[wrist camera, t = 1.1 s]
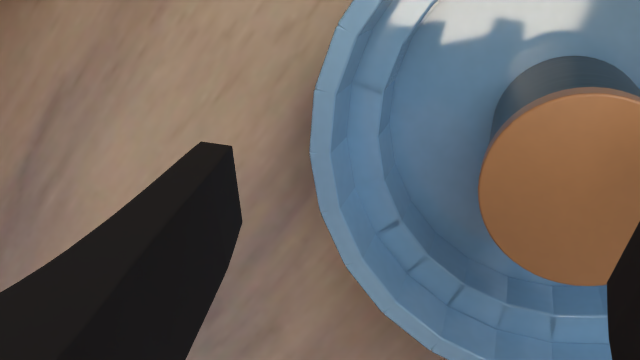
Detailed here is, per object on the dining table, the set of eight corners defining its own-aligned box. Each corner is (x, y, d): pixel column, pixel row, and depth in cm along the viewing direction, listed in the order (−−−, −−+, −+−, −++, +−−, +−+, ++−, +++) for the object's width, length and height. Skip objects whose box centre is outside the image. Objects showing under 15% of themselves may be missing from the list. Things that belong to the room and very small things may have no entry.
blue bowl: (953, 183, 18) (1081, 251, 14) (503, 378, 25) (500, 462, 20) (659, -259, 16) (705, -327, 12) (269, 79, 23) (216, 105, 19)
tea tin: (682, 145, 19) (750, 225, 14) (543, 222, 21) (551, 318, 16) (593, 19, 19) (624, 48, 13) (460, 111, 21) (437, 169, 15)
